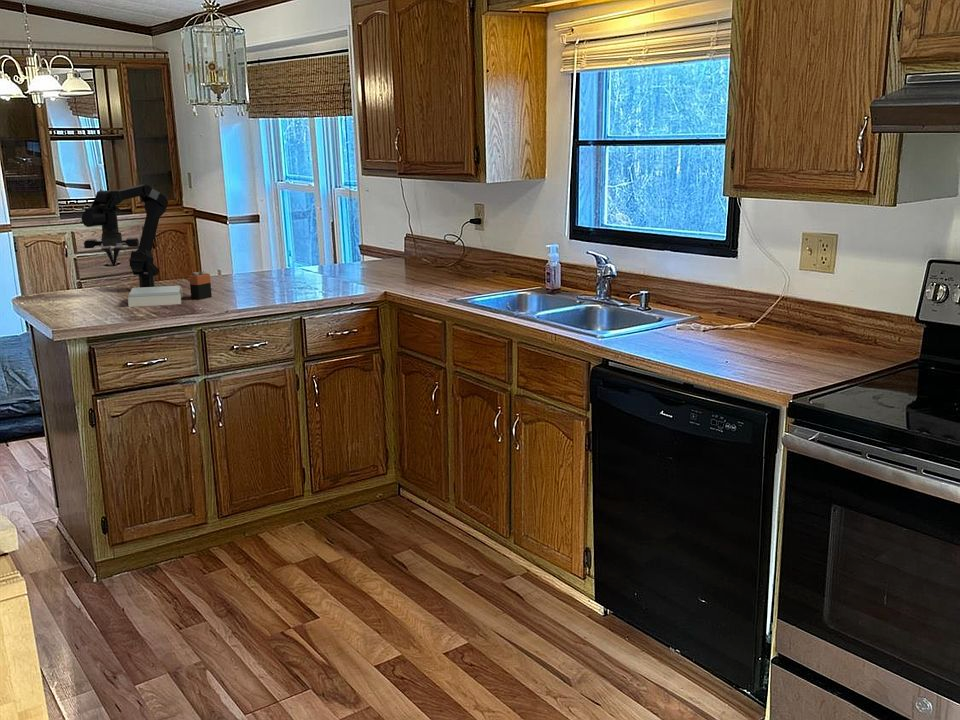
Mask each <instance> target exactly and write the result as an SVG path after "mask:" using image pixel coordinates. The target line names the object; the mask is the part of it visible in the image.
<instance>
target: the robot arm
mask: <svg viewBox="0 0 960 720" xmlns="http://www.w3.org/2000/svg"><path fill="white" fill-rule="evenodd" d="M137 197H139V198H140V200H141V202H143V204H144V207H143V208H144V210H145V213H146V215H145V219H144V224H143V227H142V231H141V232H142V233H141V236H140V239H138V237H127V238H126V239H124V240H123V236H122V232H119V231H120V229H119V224H118V223H119V222H118V214H117V213H118V212H121V211H122V209H120V208H119V207H118V205H120V204H121V203H122V202H123V201H126V200H129V199H134V198H137ZM168 205H169V200H168V199H167V196H165V195H164V194H162V192H159V190H156V189H154V188H152V187H151V185H148V184H142V183H141V184H136V185H132V186H129V187H124V188H121V189H116V190H97V191H96V194H95V196H94V200H93V201H92V204H91V206H90V207H86V208H85V207H84V212H82V214H81V222H82V224H83V226H85V227H87V228H91V227H93V228H94V227H99V226H101V240H98V239H97V238H94V239H93V238H89V239H85V241H83V248H84V249H94V248H95V247H101V251H104V252H105V254H106V255H107V257H108V259H109V260H110V262H111V265H112V266H113V267H116V266H117V264H116V263H117V260H118V256H119V253H120V250H123V249H124V246H127V247H128V248H133V247H134V248H135V247H137V249H136V251H133V250H132V251H131V252H130V258H129V259H128V262H129V267H130V269H131V271H132V274H133V275H134V276H138V283H139V288H141V287H156V285H155V284H156V283H155V277H156V276H158V275H159V273H160V271H159V270H160V269H159V268H158V267H157V266H156V265H155V264H154V260H155V259H154V255H153V252H152V250H153V248H154V247H153V245H154V244H155V243H154V242H155V237H156V234H157V230H158V226H159V220H160V218H161V217H162V216H163V215H164V214H165V213H166V210H167V207H168ZM112 247H114V248H112Z"/></svg>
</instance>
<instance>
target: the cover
mask: <svg viewBox="0 0 960 720" xmlns="http://www.w3.org/2000/svg"><path fill="white" fill-rule="evenodd" d="M180 288H181V285H169V286H168V285H167V286H166V285H165V286H155V287H141V288H140V287H132V288H131V289H130V292H129V293H128V297H138V296H158V295H178V294H179V292H180Z"/></svg>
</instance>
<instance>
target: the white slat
mask: <svg viewBox="0 0 960 720" xmlns="http://www.w3.org/2000/svg"><path fill="white" fill-rule="evenodd" d="M182 299H183V287H180V292H179V294H178V295H158V296H138V297H129V296H127V303H128V307H129V308H130V307H131V308H132V307H133V308H134V307H151V306H152V307H154V306H169V305H170V306H171V305H182Z"/></svg>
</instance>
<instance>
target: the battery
mask: <svg viewBox="0 0 960 720" xmlns="http://www.w3.org/2000/svg"><path fill="white" fill-rule="evenodd" d="M188 278H189V289H190V299H191V300H204V299H209V298H211V297H212V286H211V283H212V282H211V274H210V273H206V272H205V271H200V272H198V271H197V272H193V273H192V274H190V275H189V277H188Z"/></svg>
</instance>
